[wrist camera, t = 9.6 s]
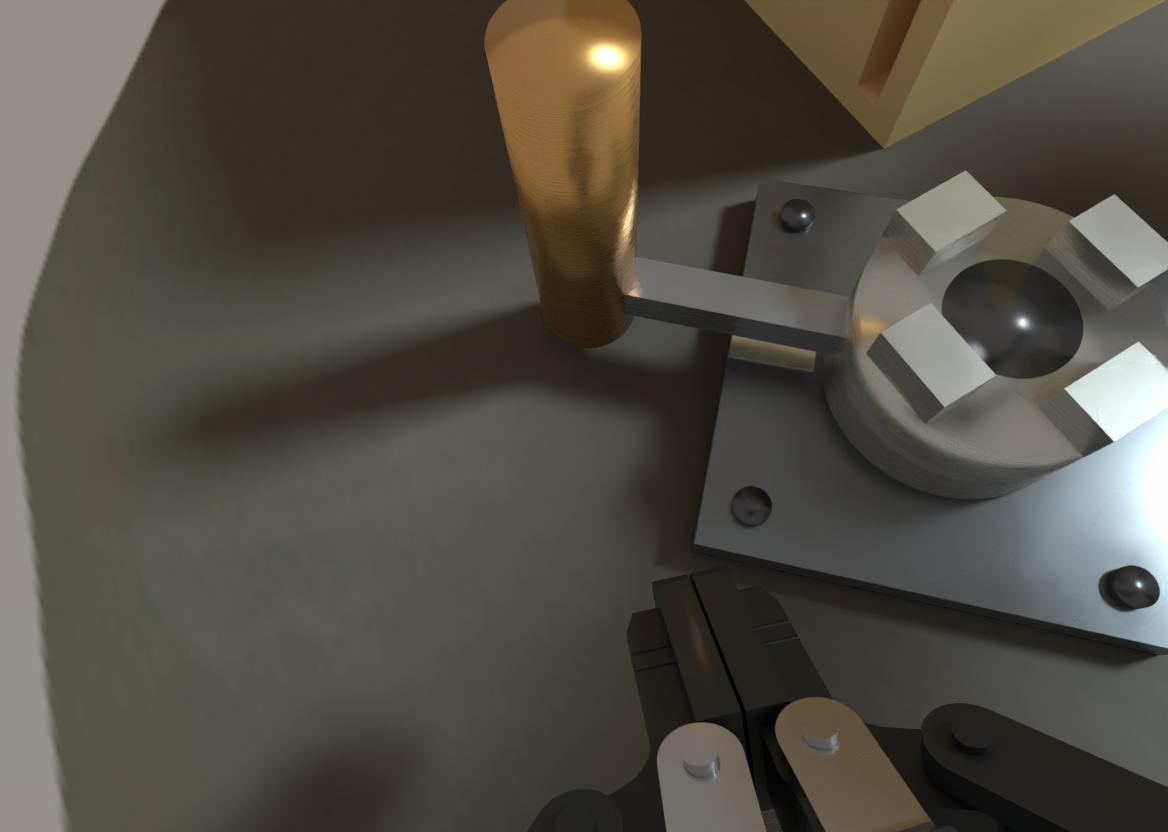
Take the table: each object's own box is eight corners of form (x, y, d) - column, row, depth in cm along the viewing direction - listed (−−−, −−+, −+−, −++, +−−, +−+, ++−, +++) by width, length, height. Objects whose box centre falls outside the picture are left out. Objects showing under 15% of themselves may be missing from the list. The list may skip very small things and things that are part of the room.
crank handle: (1082, 296, 24) (1423, -1, 14) (1078, 526, 21) (1498, 371, 11) (573, 205, 26) (540, -105, 16) (512, 401, 24) (424, 178, 13)
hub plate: (755, 199, 28) (762, 172, 26) (1143, 258, 26) (1172, 234, 25) (690, 551, 23) (695, 541, 22) (1159, 655, 21) (1196, 652, 20)
